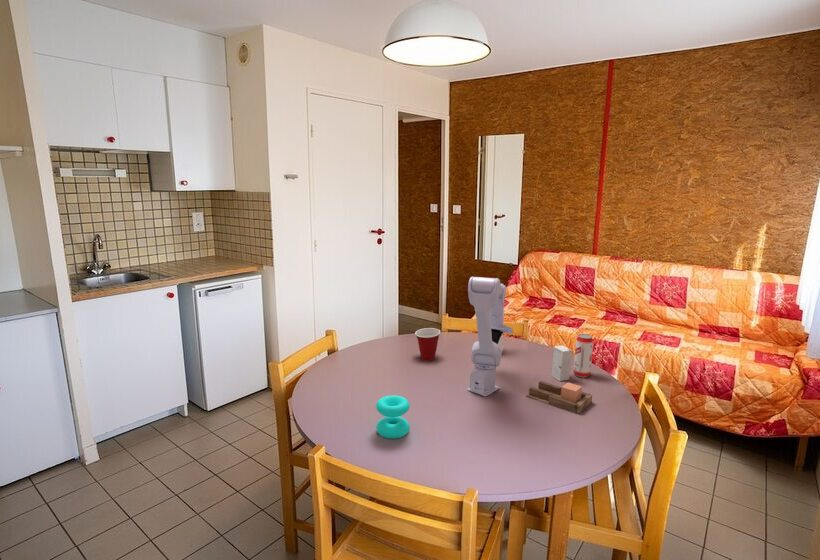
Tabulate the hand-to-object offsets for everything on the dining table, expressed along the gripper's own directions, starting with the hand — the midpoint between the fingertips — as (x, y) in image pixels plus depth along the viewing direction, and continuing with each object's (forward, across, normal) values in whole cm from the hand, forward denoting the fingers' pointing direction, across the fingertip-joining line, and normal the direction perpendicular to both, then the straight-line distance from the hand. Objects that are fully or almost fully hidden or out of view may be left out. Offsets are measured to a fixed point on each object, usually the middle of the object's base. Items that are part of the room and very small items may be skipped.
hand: (494, 347), depth 185 cm
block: (+10, -34, +5) cm, 36 cm away
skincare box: (+11, -22, -13) cm, 28 cm away
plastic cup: (+11, +29, +6) cm, 31 cm away
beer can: (+11, -27, -21) cm, 36 cm away
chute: (+10, -30, +5) cm, 32 cm away
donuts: (+11, -2, +59) cm, 60 cm away
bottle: (+11, +12, -19) cm, 25 cm away
